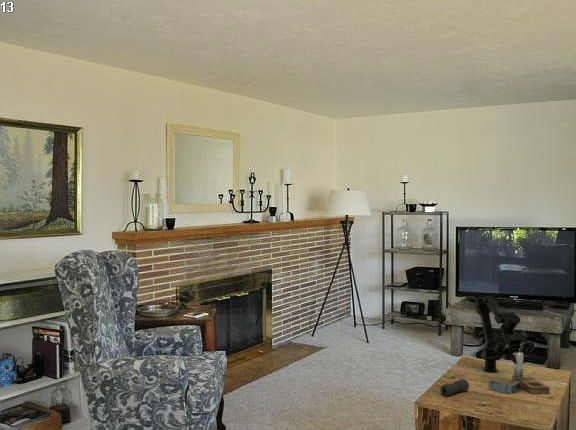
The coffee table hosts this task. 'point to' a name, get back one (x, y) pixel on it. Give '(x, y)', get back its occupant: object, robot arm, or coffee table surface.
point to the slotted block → (532, 385)
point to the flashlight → (454, 387)
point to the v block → (505, 387)
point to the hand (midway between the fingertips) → (520, 363)
